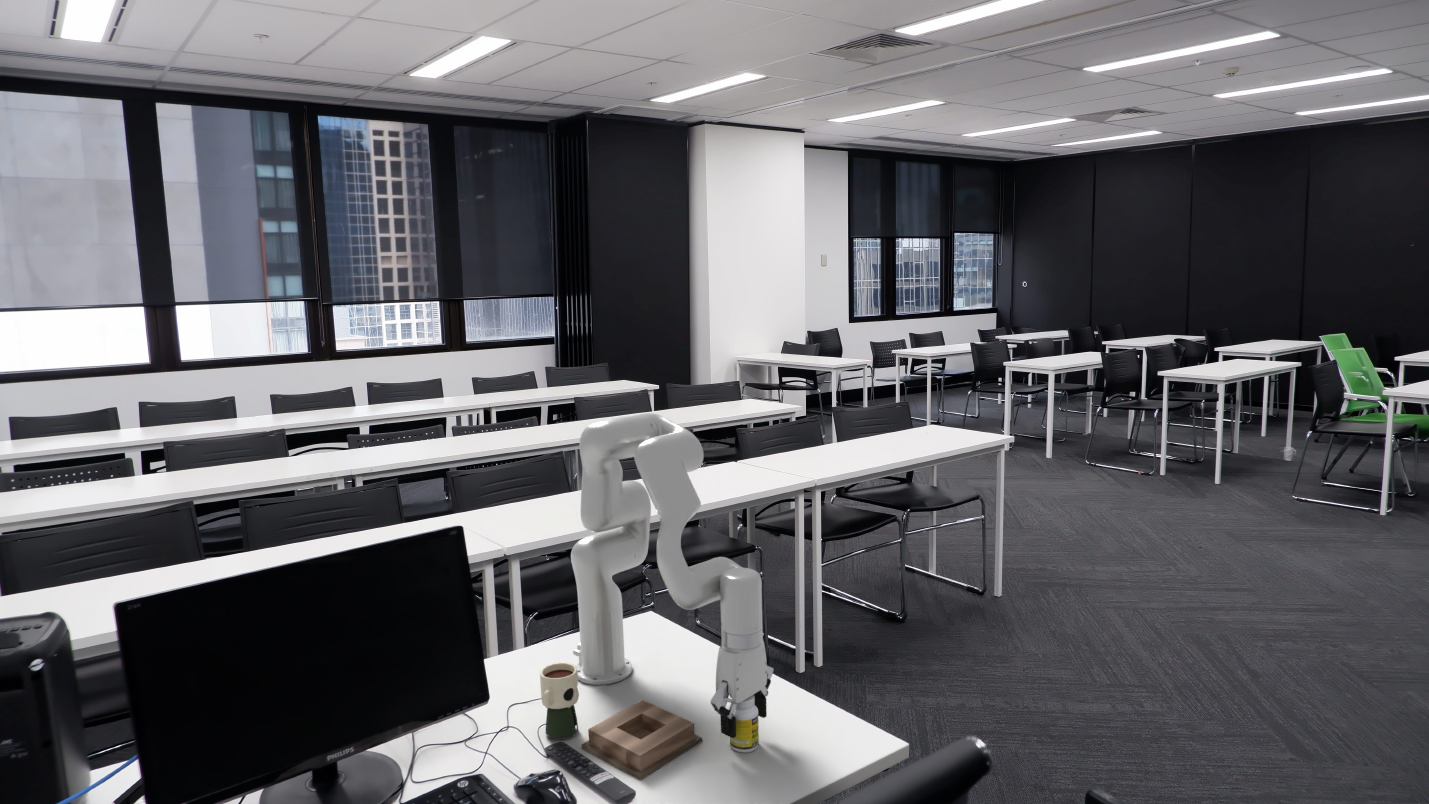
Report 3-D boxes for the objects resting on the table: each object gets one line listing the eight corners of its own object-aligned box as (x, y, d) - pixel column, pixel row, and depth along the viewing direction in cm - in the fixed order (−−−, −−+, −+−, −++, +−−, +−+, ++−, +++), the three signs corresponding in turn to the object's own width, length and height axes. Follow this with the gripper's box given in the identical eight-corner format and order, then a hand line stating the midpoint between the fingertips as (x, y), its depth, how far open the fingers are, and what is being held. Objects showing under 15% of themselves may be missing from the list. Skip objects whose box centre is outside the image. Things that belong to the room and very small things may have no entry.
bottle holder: (581, 748, 161) (580, 729, 160) (643, 713, 172) (642, 696, 172) (640, 780, 150) (639, 760, 149) (702, 741, 162) (701, 722, 161)
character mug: (565, 751, 160) (562, 686, 158) (531, 745, 162) (527, 681, 160) (591, 721, 170) (588, 659, 168) (558, 716, 172) (555, 655, 170)
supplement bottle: (756, 754, 157) (755, 704, 156) (727, 752, 158) (726, 702, 157) (760, 738, 162) (760, 690, 161) (732, 736, 163) (731, 688, 162)
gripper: (755, 616, 166) (757, 700, 168) (694, 647, 153) (697, 737, 156) (787, 626, 161) (788, 712, 163) (726, 659, 148) (729, 752, 151)
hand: (744, 724), depth 160 cm, fingers open, 8 cm apart
